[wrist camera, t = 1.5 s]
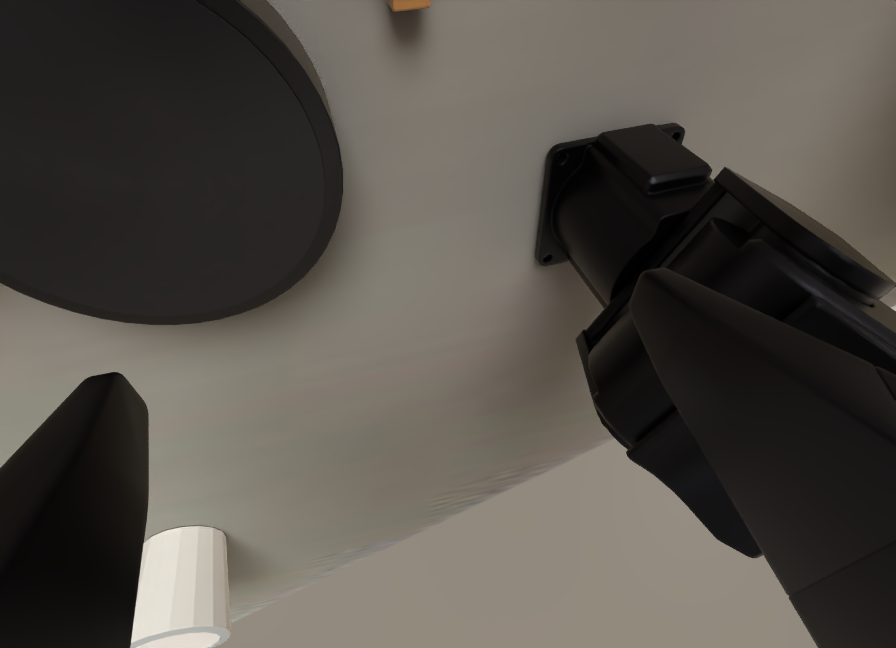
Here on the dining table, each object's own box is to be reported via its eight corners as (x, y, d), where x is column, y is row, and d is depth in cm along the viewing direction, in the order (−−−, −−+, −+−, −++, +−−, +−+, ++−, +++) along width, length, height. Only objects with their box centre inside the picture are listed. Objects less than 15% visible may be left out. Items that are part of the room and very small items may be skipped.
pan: (360, 244, 21) (372, 291, 19) (-141, 346, 18) (-196, 416, 16) (277, -119, 12) (282, -109, 10) (-715, -39, 9) (-1015, -1, 7)
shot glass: (109, 554, 34) (86, 668, 29) (178, 514, 33) (165, 626, 28) (191, 567, 39) (181, 666, 34) (253, 532, 38) (253, 630, 33)
